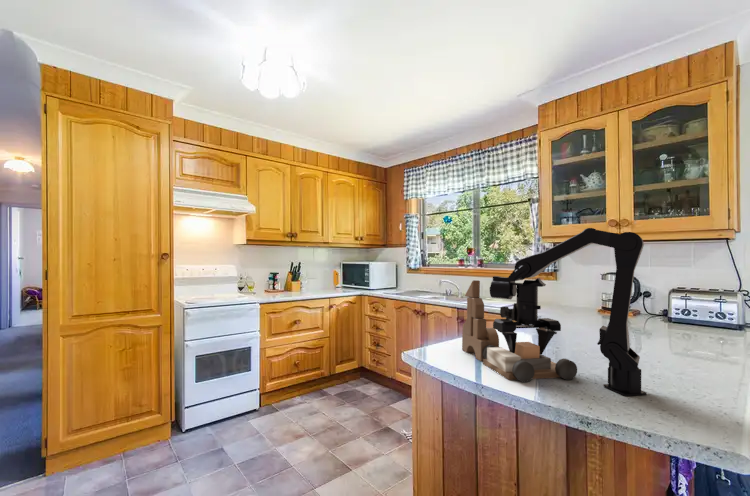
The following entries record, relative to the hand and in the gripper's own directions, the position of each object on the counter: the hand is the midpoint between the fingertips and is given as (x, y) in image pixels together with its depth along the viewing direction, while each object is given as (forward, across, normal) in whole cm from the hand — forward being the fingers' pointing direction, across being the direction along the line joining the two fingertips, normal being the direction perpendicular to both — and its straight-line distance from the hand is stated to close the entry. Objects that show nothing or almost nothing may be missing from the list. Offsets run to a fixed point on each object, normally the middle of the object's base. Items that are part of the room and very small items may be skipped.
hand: (526, 354), depth 102 cm
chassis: (+4, 0, 0) cm, 4 cm away
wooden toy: (+5, +6, -17) cm, 19 cm away
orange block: (+3, 0, 0) cm, 3 cm away
